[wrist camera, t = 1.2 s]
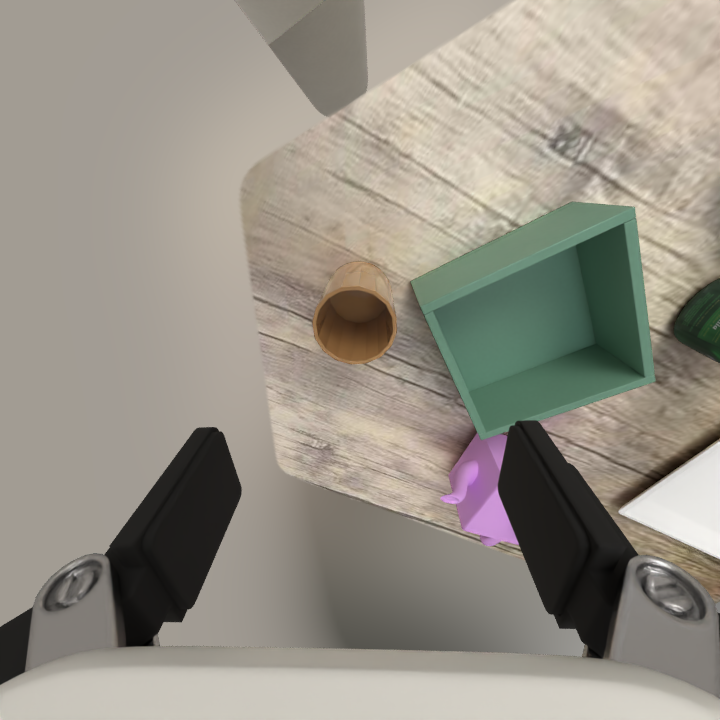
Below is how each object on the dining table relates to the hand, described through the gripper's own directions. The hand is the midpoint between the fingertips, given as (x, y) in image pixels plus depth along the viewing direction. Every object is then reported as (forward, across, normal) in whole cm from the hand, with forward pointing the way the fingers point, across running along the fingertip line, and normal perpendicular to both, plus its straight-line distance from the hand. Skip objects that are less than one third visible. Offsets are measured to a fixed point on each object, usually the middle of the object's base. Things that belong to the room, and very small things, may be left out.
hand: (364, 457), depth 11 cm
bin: (+25, -14, +5) cm, 29 cm away
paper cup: (+25, +1, +2) cm, 25 cm away
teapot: (+25, -16, +25) cm, 38 cm away
